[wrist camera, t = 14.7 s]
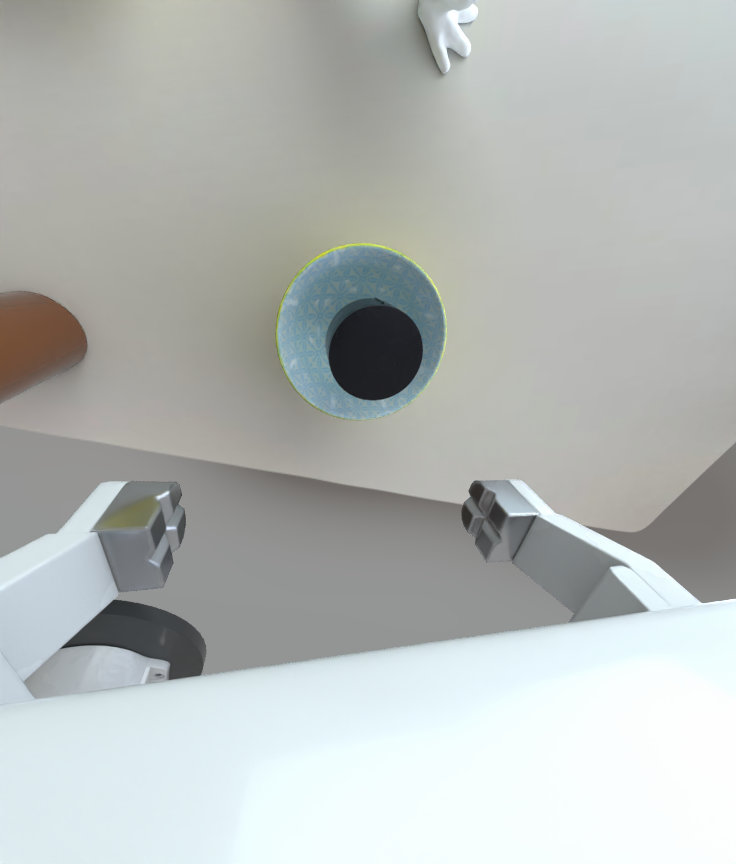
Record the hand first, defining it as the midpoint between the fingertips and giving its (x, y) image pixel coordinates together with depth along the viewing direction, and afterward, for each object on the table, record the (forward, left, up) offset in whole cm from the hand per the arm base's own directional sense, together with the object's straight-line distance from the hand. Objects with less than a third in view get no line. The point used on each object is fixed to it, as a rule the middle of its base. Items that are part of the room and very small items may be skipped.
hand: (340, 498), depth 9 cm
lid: (+1, -3, -11) cm, 12 cm away
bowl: (+1, -3, -20) cm, 20 cm away
